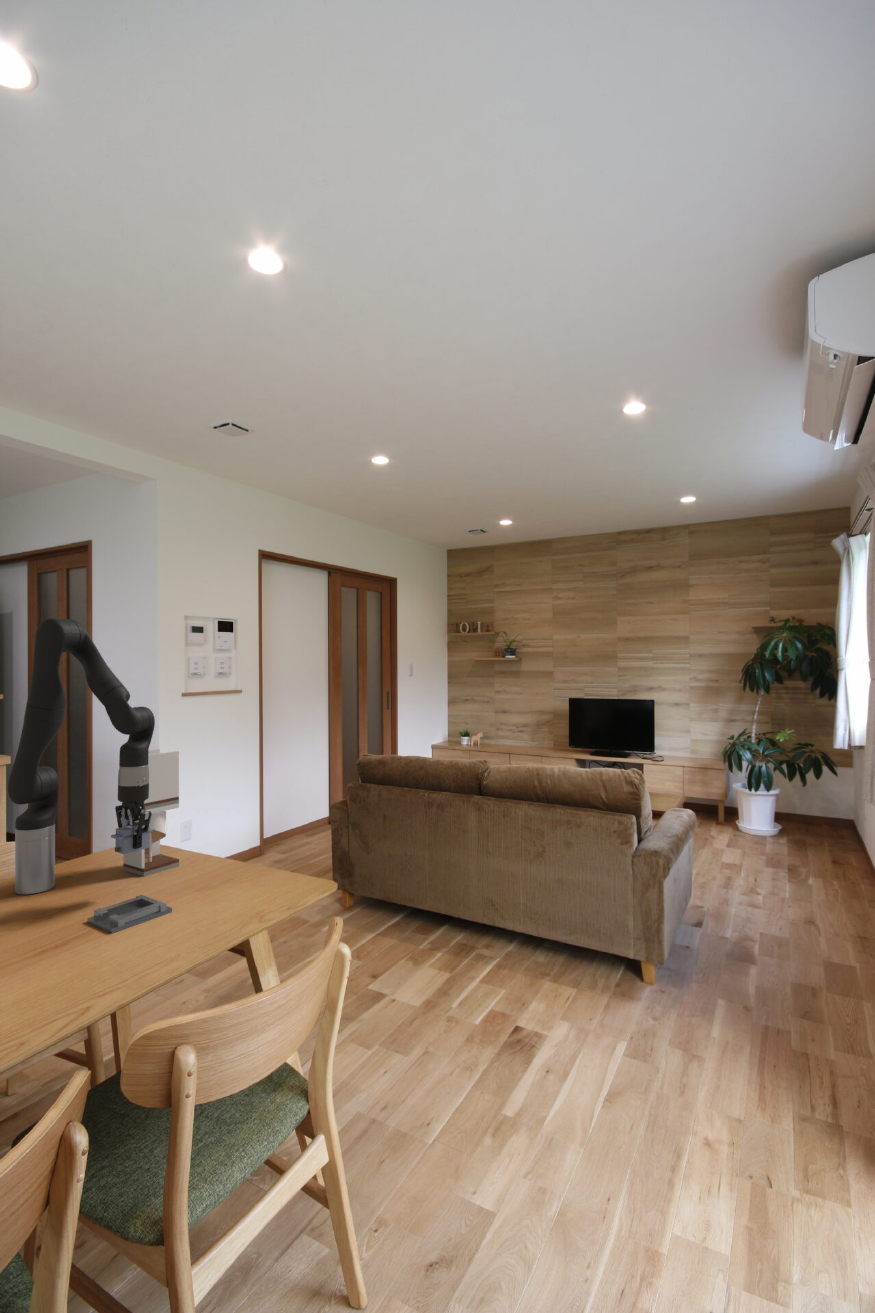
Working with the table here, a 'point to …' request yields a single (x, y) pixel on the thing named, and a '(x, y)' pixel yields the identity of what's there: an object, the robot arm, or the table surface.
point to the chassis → (128, 913)
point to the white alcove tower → (157, 814)
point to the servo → (129, 840)
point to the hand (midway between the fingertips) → (132, 846)
